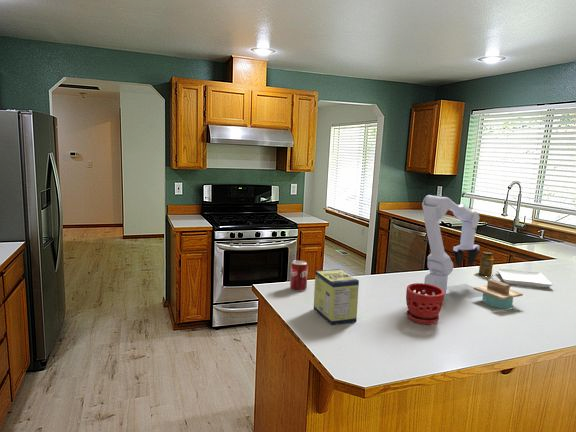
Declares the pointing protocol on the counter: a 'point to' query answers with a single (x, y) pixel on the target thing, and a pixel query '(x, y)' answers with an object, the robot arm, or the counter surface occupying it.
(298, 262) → the soda can
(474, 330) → the counter surface
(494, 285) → the oak lid
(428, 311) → the plant pot
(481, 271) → the condiment
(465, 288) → the grey mat
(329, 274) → the protein box
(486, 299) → the teal bowl
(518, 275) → the salad plate
